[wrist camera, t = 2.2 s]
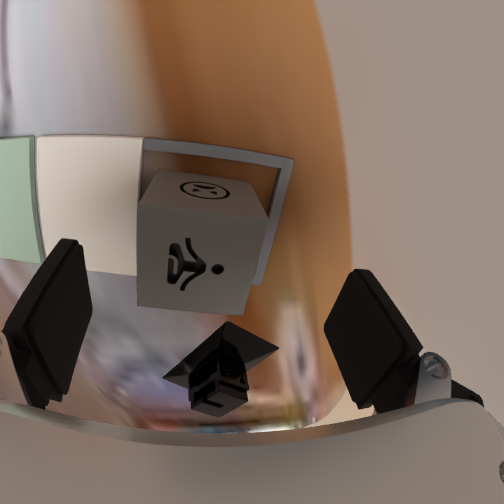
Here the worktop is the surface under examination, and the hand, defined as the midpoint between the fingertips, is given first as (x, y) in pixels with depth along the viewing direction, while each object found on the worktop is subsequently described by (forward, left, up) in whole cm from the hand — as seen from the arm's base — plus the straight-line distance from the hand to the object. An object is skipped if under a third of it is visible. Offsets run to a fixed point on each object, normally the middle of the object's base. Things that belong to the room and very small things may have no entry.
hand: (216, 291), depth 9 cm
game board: (-1, +7, -7) cm, 10 cm away
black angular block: (-14, -2, -8) cm, 16 cm away
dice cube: (-1, +1, -8) cm, 8 cm away
